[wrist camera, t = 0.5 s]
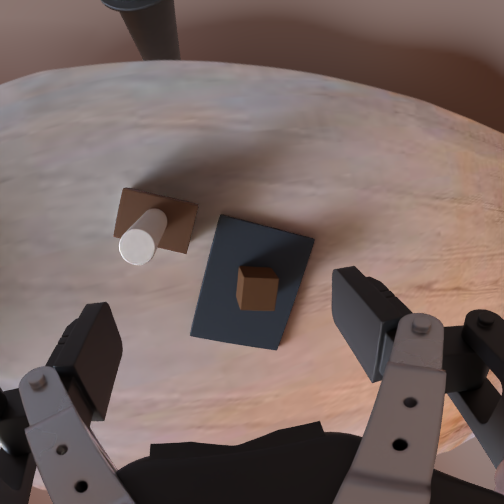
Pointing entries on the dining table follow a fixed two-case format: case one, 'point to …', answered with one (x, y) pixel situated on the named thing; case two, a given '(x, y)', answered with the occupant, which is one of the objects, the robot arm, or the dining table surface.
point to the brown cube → (257, 288)
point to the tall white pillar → (152, 225)
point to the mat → (226, 276)
